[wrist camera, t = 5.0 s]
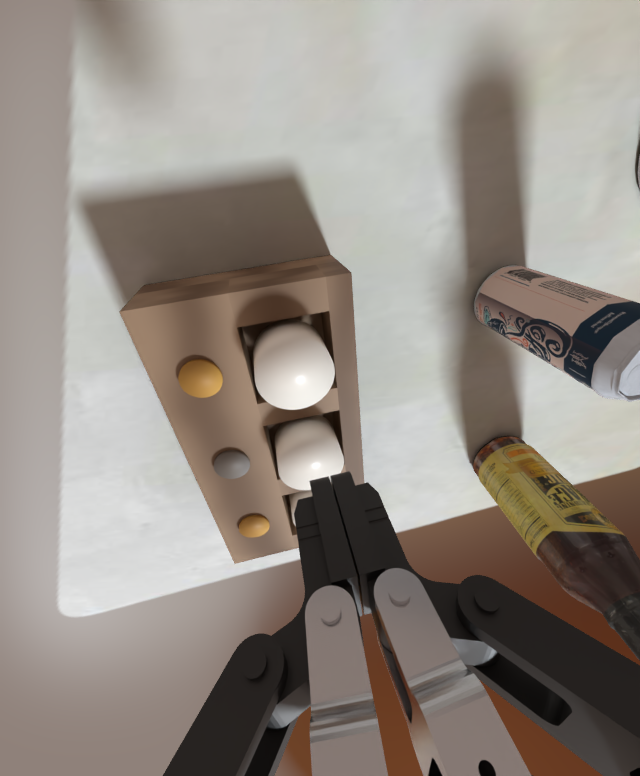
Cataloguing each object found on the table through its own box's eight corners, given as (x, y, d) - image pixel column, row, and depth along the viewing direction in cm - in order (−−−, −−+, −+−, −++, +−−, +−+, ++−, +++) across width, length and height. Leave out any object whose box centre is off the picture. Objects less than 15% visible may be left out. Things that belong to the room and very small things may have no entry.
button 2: (331, 407, 24) (341, 434, 21) (336, 452, 26) (346, 481, 24) (269, 420, 23) (272, 449, 21) (280, 465, 26) (284, 496, 23)
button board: (330, 254, 22) (352, 273, 18) (352, 488, 35) (368, 533, 30) (143, 285, 21) (117, 313, 17) (235, 515, 33) (234, 566, 29)
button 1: (319, 313, 20) (331, 332, 17) (327, 376, 22) (337, 401, 20) (245, 326, 19) (246, 348, 17) (261, 389, 22) (263, 416, 19)
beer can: (458, 307, 26) (592, 387, 16) (502, 250, 24) (683, 301, 14) (495, 334, 28) (635, 420, 18) (539, 283, 26) (720, 348, 16)
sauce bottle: (534, 441, 36) (777, 659, 20) (495, 480, 39) (683, 705, 22) (494, 424, 34) (736, 659, 17) (455, 467, 36) (635, 711, 20)
